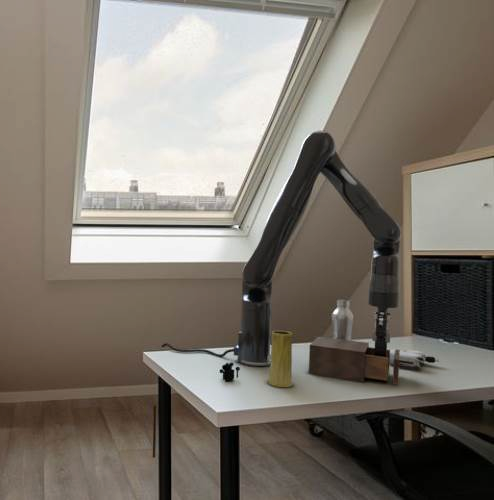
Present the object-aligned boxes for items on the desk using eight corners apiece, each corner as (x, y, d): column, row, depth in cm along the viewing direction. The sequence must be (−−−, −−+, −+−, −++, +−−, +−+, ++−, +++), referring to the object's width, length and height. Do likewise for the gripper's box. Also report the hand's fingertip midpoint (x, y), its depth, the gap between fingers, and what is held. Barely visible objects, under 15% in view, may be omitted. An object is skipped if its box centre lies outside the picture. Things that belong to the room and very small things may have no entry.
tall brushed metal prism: (371, 361, 138) (372, 332, 137) (371, 359, 140) (373, 330, 139) (388, 363, 135) (390, 334, 135) (388, 362, 137) (390, 332, 137)
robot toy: (402, 360, 163) (376, 361, 155) (404, 347, 163) (377, 348, 155) (441, 369, 152) (414, 371, 145) (442, 355, 152) (415, 356, 145)
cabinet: (367, 370, 146) (368, 342, 146) (363, 382, 133) (365, 352, 133) (316, 362, 154) (317, 336, 153) (308, 373, 141) (309, 344, 141)
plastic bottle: (355, 364, 153) (357, 302, 152) (332, 362, 154) (334, 301, 154) (349, 359, 159) (351, 299, 159) (328, 357, 161) (330, 298, 160)
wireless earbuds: (220, 383, 130) (221, 364, 130) (215, 380, 132) (215, 362, 132) (240, 379, 133) (241, 362, 133) (234, 377, 135) (235, 359, 135)
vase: (280, 388, 126) (282, 335, 126) (263, 382, 131) (265, 331, 131) (296, 386, 129) (298, 333, 128) (279, 379, 134) (281, 329, 134)
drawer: (418, 375, 139) (419, 352, 138) (419, 387, 127) (420, 362, 127) (348, 365, 148) (349, 343, 148) (343, 375, 137) (344, 352, 136)
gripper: (370, 286, 145) (367, 343, 145) (367, 290, 133) (364, 352, 134) (399, 289, 141) (396, 347, 141) (398, 293, 129) (394, 356, 130)
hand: (380, 349), depth 137 cm, fingers closed on tall brushed metal prism, 2 cm apart
